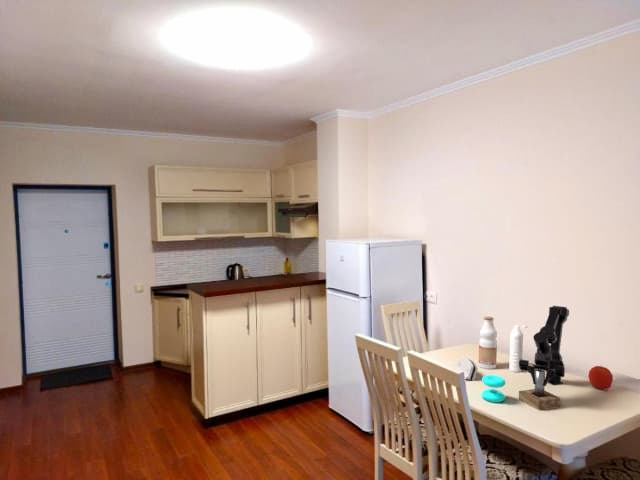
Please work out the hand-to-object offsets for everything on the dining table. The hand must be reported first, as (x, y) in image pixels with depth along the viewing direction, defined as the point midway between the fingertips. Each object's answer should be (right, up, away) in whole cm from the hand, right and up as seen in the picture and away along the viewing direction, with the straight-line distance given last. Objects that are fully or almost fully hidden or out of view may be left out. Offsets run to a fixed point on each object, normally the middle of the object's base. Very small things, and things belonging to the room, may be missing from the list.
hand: (539, 384), depth 206 cm
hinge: (-21, -7, +37) cm, 43 cm away
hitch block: (+1, -9, +2) cm, 9 cm away
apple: (+40, -8, +20) cm, 45 cm away
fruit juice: (-5, -6, +51) cm, 52 cm away
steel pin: (+1, -7, +2) cm, 7 cm away
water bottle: (+10, -7, +45) cm, 47 cm away
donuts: (-19, -9, +6) cm, 21 cm away
